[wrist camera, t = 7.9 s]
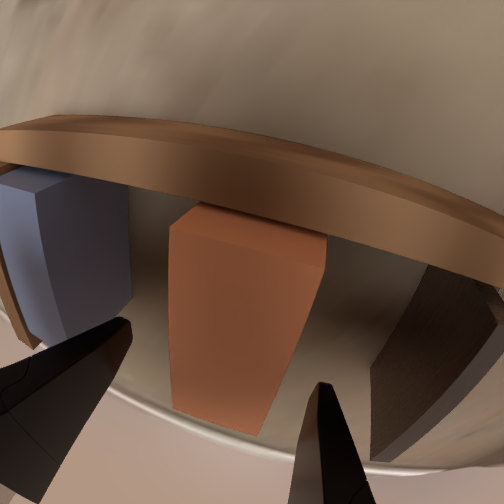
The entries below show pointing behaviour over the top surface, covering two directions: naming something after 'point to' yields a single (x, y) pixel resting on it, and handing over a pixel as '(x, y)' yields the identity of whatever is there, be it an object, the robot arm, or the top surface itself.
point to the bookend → (433, 358)
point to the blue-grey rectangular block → (65, 249)
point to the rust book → (236, 310)
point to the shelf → (261, 188)
